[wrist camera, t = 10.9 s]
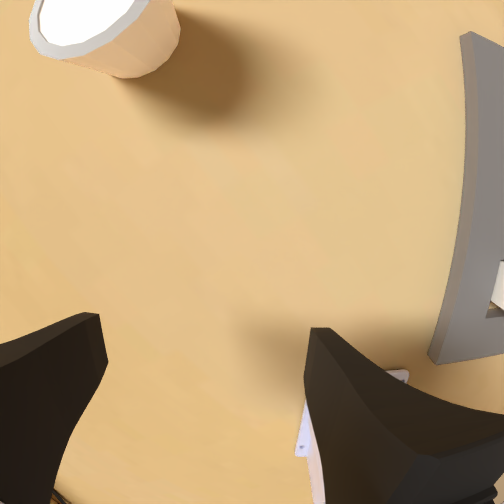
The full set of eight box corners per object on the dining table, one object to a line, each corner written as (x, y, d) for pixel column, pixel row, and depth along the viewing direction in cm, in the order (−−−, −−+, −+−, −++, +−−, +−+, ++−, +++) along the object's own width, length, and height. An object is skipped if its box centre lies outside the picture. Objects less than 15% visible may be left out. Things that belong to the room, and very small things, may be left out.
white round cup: (165, -21, 14) (132, -80, 7) (210, 50, 16) (186, -5, 9) (77, 34, 15) (17, 0, 8) (111, 109, 17) (46, 90, 10)
